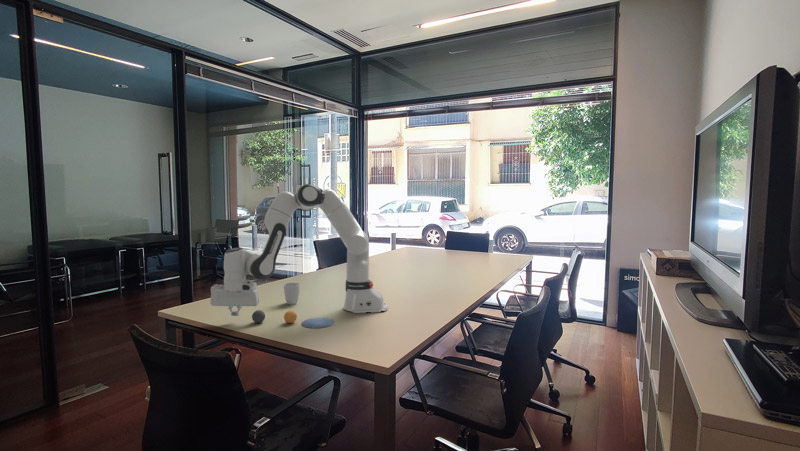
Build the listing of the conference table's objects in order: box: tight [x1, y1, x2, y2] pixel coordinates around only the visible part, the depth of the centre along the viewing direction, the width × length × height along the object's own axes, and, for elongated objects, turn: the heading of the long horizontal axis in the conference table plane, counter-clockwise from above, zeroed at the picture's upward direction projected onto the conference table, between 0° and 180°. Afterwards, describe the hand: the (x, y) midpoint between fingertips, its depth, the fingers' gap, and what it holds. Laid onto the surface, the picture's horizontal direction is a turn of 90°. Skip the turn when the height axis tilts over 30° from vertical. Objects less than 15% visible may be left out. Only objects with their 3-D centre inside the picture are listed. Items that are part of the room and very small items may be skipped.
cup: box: [283, 282, 301, 305], centre depth 205 cm, size 8×8×10 cm
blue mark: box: [300, 317, 335, 329], centre depth 174 cm, size 14×14×1 cm
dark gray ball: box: [251, 309, 266, 324], centre depth 174 cm, size 6×6×6 cm
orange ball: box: [283, 310, 298, 324], centre depth 174 cm, size 6×6×6 cm
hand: (235, 315), depth 174 cm, fingers closed
